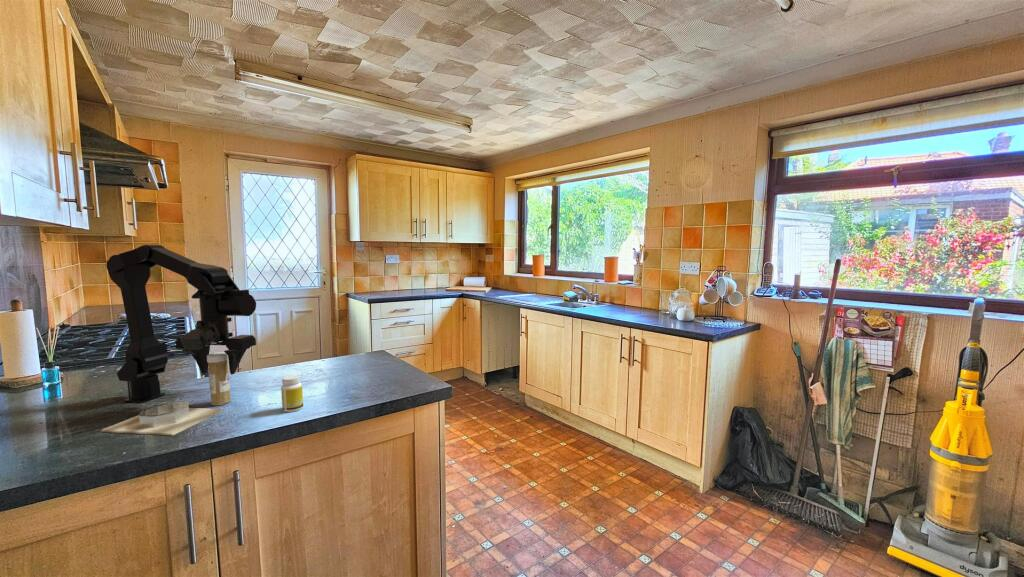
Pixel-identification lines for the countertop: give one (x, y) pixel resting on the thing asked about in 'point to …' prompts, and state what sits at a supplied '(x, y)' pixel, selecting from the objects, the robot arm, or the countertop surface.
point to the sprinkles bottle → (219, 378)
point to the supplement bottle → (291, 393)
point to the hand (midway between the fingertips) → (218, 373)
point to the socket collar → (164, 414)
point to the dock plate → (171, 429)
